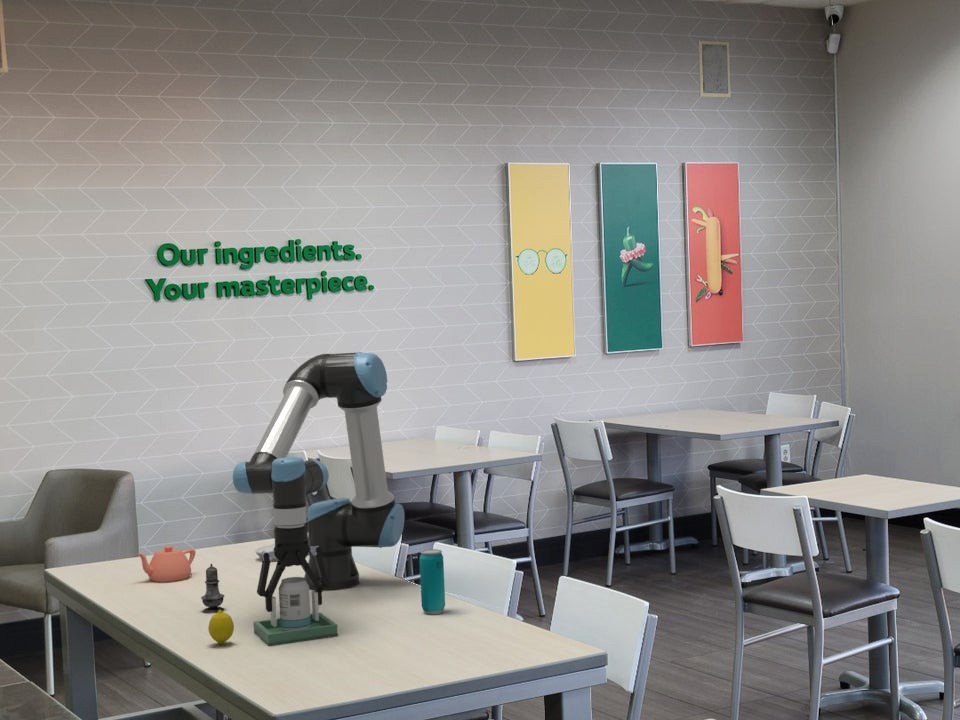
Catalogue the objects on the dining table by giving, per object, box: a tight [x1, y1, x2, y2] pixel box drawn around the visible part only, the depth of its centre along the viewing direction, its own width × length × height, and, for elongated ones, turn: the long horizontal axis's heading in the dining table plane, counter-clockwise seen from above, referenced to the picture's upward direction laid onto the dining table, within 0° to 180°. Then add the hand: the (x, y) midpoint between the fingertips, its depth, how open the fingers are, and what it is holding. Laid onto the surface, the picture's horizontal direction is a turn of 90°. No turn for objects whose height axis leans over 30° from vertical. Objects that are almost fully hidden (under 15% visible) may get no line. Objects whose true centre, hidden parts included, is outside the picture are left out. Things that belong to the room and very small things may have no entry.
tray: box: [253, 612, 339, 647], centre depth 273 cm, size 16×14×2 cm
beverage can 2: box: [419, 548, 446, 615], centre depth 288 cm, size 6×6×15 cm
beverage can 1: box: [278, 576, 311, 631], centre depth 273 cm, size 7×7×12 cm
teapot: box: [135, 545, 196, 583], centre depth 342 cm, size 12×18×10 cm
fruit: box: [208, 609, 235, 646], centre depth 266 cm, size 6×6×8 cm
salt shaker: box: [200, 563, 225, 614], centre depth 300 cm, size 6×6×12 cm
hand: (294, 622), depth 273 cm, fingers open, 9 cm apart
